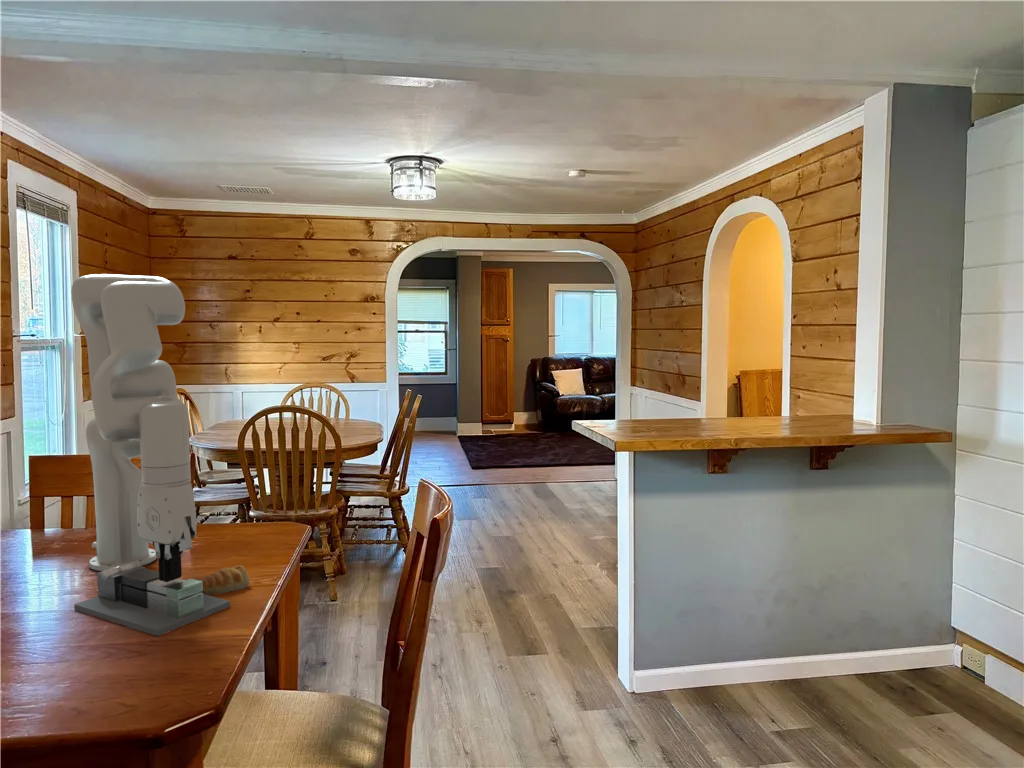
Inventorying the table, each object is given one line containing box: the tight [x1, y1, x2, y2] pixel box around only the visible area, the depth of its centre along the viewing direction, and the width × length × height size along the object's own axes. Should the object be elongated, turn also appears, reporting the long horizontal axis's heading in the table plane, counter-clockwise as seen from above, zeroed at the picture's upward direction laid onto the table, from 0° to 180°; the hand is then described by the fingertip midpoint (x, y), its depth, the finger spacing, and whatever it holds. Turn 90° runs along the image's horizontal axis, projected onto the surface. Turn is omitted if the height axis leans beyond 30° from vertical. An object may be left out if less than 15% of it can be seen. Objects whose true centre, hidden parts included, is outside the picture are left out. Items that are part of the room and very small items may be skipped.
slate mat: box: [73, 594, 231, 637], centre depth 127 cm, size 23×14×1 cm, turn 61°
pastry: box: [199, 564, 251, 596], centre depth 137 cm, size 9×7×4 cm
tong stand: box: [96, 560, 204, 619], centre depth 127 cm, size 22×6×5 cm, turn 61°
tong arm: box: [120, 568, 203, 600], centre depth 126 cm, size 16×5×2 cm, turn 61°
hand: (170, 578), depth 125 cm, fingers closed
